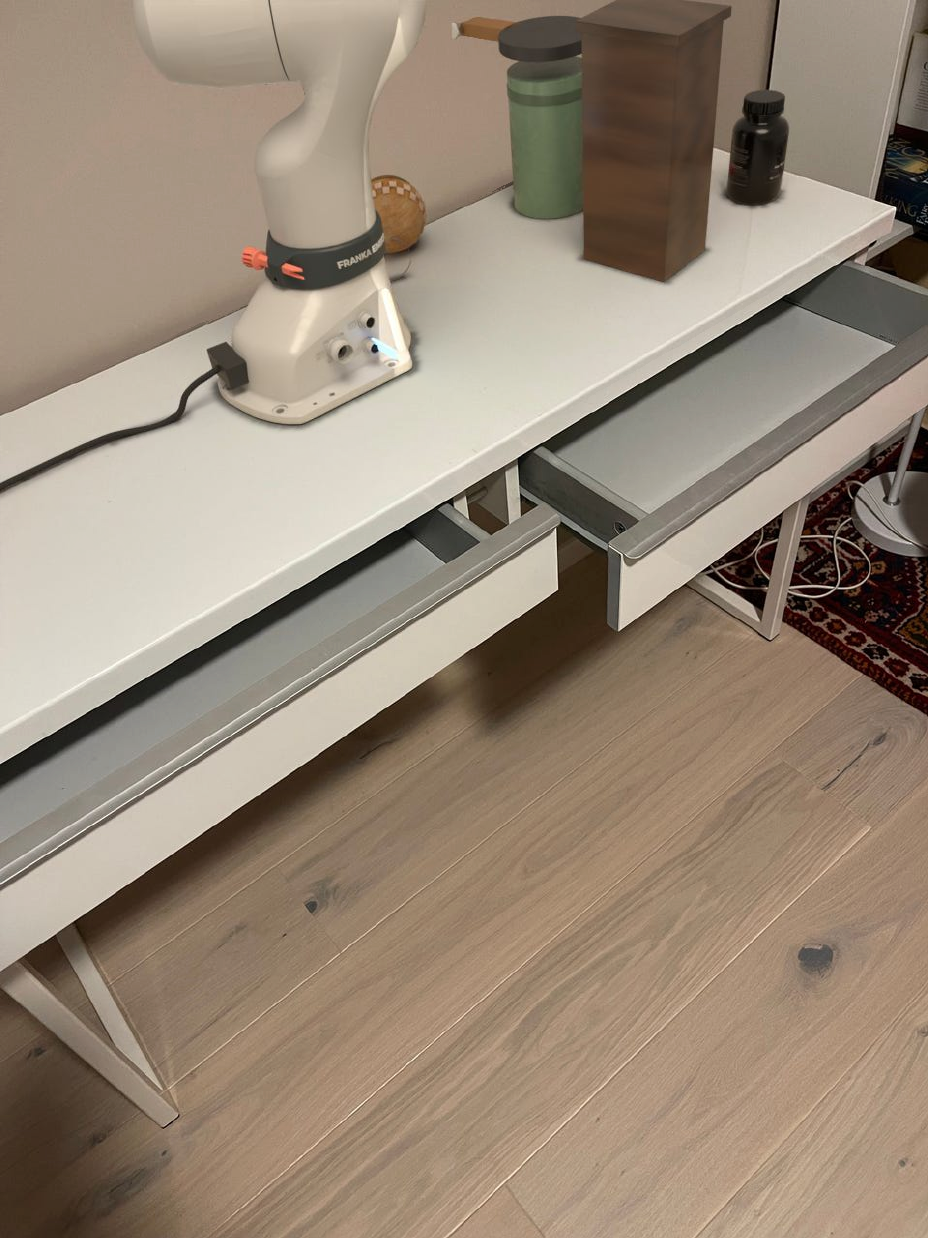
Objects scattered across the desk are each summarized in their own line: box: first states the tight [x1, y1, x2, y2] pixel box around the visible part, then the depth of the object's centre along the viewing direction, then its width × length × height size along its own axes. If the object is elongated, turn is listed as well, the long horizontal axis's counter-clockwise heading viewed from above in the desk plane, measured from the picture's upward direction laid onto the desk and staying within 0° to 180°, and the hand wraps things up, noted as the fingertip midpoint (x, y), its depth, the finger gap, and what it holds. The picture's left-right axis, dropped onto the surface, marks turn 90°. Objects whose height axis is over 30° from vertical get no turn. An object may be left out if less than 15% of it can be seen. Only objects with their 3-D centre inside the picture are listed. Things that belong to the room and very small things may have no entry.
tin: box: [506, 55, 583, 220], centre depth 127 cm, size 10×10×16 cm
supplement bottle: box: [726, 89, 790, 206], centre depth 125 cm, size 7×7×12 cm
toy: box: [371, 174, 427, 282], centre depth 123 cm, size 9×9×15 cm
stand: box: [575, 0, 733, 283], centre depth 112 cm, size 10×12×26 cm
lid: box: [461, 15, 582, 62], centre depth 122 cm, size 12×21×2 cm, turn 50°
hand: (469, 21), depth 125 cm, fingers closed on lid, 3 cm apart
